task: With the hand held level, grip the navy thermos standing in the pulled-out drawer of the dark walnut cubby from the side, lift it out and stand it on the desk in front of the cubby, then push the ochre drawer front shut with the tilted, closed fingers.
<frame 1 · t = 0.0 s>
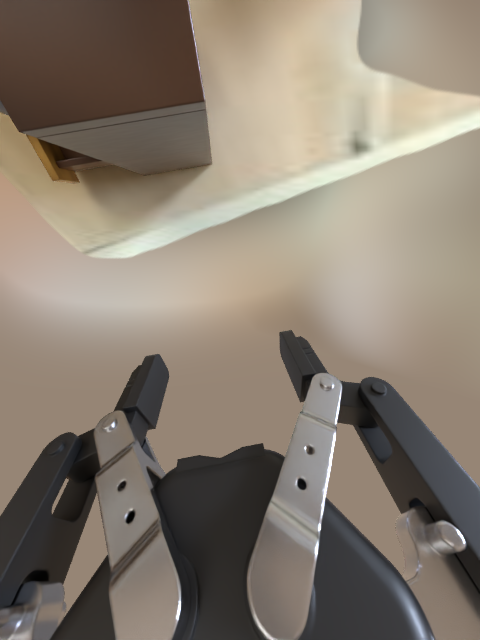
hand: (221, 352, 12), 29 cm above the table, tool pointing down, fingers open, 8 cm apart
cubby: (163, 112, 25), on the table
drawer: (72, 115, 22), point 3 cm above the table, slide at 9.0 cm, touching thermos
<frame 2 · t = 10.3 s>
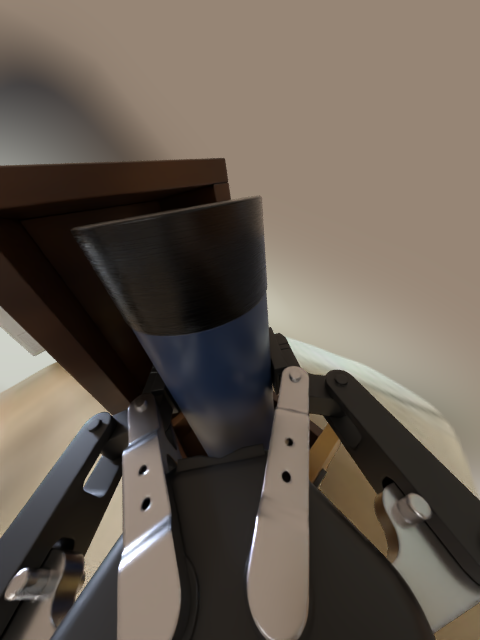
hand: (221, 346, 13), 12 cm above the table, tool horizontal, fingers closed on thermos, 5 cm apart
cubby: (194, 389, 24), on the table
thermos: (244, 445, 16), point 2 cm above the table, touching drawer, gripper
small box: (47, 343, 40), on the table
drawer: (244, 441, 15), point 3 cm above the table, slide at 9.0 cm, touching thermos
when the fingers open (10 cm above the table, at t = 17.6 s): thermos stays where it is, on the table.
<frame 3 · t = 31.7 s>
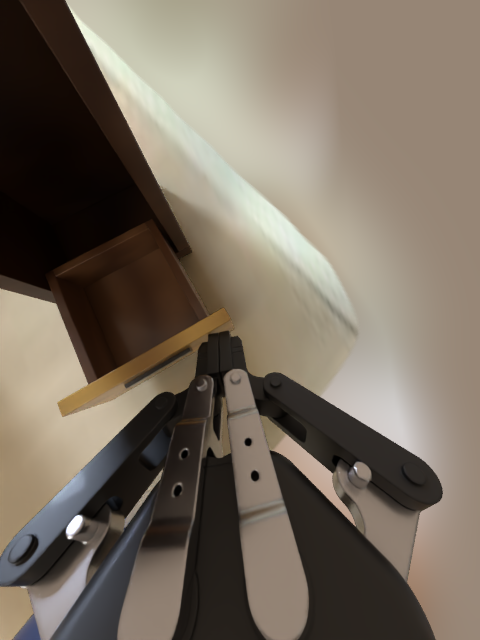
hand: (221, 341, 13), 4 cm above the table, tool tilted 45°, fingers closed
cubby: (118, 239, 20), on the table
thermos: (115, 569, 14), on the table
drawer: (136, 306, 15), point 3 cm above the table, slide at 8.3 cm, touching gripper
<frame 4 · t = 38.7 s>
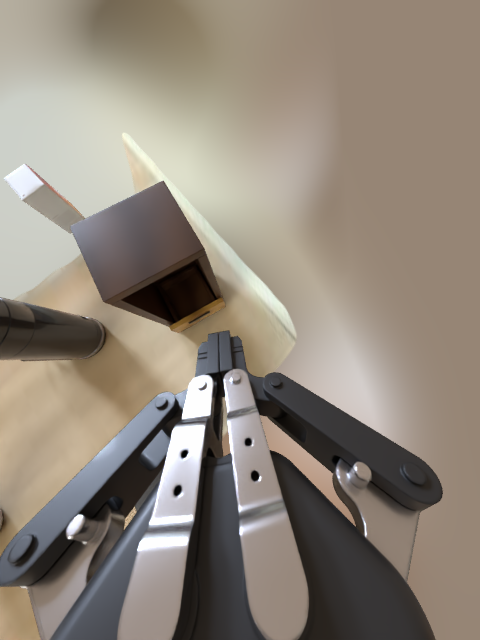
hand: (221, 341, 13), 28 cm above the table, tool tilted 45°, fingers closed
cubby: (190, 296, 43), on the table
small box: (71, 219, 48), on the table
drawer: (189, 297, 39), point 3 cm above the table, slide at 0.0 cm
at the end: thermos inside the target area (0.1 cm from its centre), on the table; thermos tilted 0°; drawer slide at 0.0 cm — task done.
